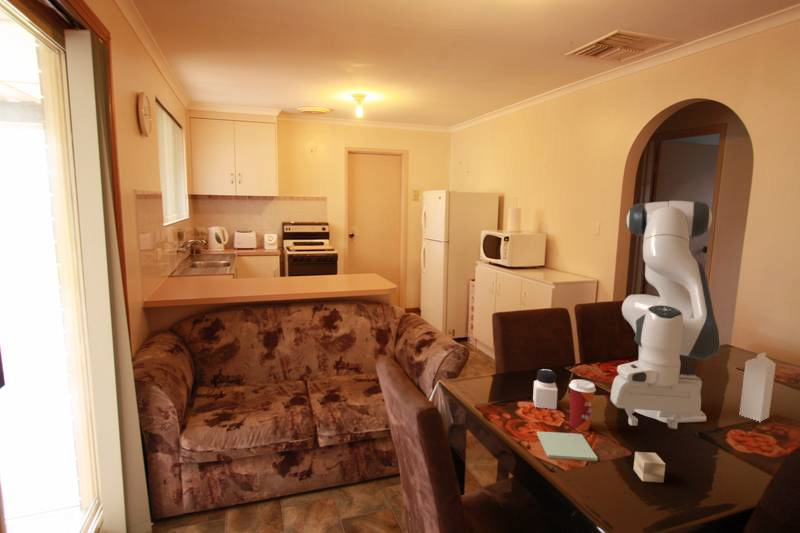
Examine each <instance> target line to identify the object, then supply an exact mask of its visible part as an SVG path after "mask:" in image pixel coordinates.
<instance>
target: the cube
mask: <svg viewBox="0 0 800 533" xmlns="http://www.w3.org/2000/svg"><path fill="white" fill-rule="evenodd" d="M633 471H634V472H635V474H637V476H638V477H639V479H640V480H641V481H642V482H648V483H649V482H650V483H651V482H652V483H661V484H662V483H664V481H665V471H666V463H665V462H664V461H663V460H662V458H661V457H660V456H659V455H658V454H657V453H656V452H645V451H641V452H640V451H635V452H634V461H633Z"/></svg>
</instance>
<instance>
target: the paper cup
mask: <svg viewBox="0 0 800 533" xmlns="http://www.w3.org/2000/svg"><path fill="white" fill-rule="evenodd" d="M568 387H569V426H570V427H571V428H572V429H574V430H576V429H577V430H576V431H579V432H581V431H582V432H586V431H589V429H590V424H591V418H592V412H593V405H594V399H595V398H594V397H595V392H596V391H597V389H596V386H595V384H594V383H593V382H592V381H589V380H585V379H580V378H579V379H572V380H571V381H570V383H569V384H568Z"/></svg>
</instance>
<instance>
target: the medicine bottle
mask: <svg viewBox="0 0 800 533" xmlns="http://www.w3.org/2000/svg"><path fill="white" fill-rule="evenodd" d="M556 376H557V374H556V372H554V371H553V370H551V369H546V368H545V369H544V368H543V369H539V370H537V373H536V380H534V381H533V394H532V400H533V405H534V407H535V408H536V407H537V408H538V409H545V408H547V410H555V409H556V410H557V408H558V397H559V396H558V395H559V390H558V387H557V384H556V380H557V379H556ZM537 408H536V409H537Z"/></svg>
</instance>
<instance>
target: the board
mask: <svg viewBox="0 0 800 533" xmlns="http://www.w3.org/2000/svg"><path fill="white" fill-rule="evenodd" d="M536 435H537V437H538V439H539V442H540V444H541V446H542V448H543V451H544V452H545V455H546V457H547V458H548V459H559V460H560V459H563V460H576V461H577V460H579V461H580V460H581V461H590V462H591V461H592V462H596V461H597V462H598V460H599V459H598V458H599V457H598V456H597V455H596V453H595V452H594V451H593V449H592V448H591V446H590V444H589V443H588V441H587V440H586V439H585V437H584V435H583V434H582V433H573V432H572V433H571V432H570V433H568V432H556V431H552V432H551V431H536Z"/></svg>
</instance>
